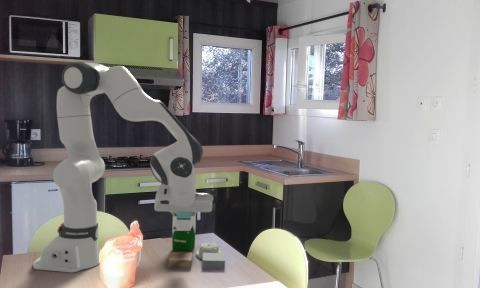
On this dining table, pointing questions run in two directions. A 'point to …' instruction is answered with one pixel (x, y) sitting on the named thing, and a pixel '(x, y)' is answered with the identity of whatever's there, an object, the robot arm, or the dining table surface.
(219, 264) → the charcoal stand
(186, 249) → the milk carton
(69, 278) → the dining table surface
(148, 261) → the dining table surface
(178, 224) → the block
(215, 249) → the mechanical component
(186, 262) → the walnut stand
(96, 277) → the dining table surface
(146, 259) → the dining table surface
